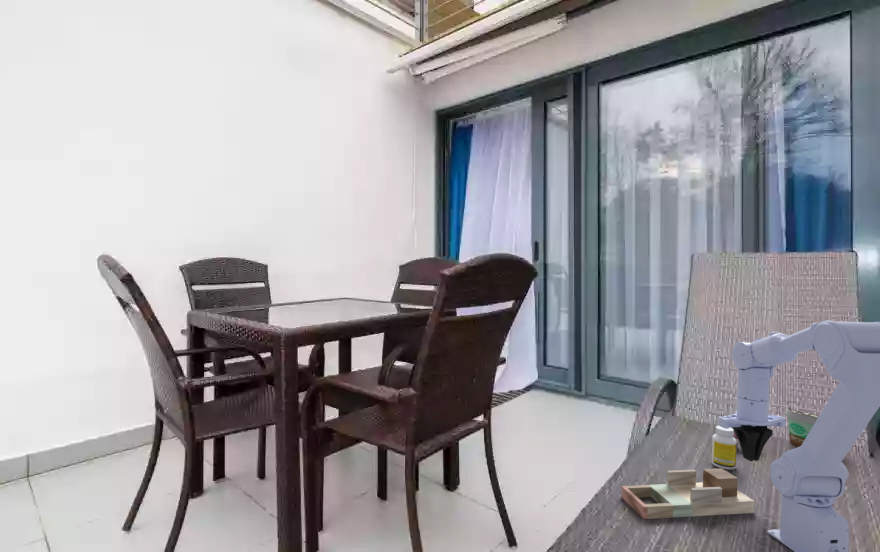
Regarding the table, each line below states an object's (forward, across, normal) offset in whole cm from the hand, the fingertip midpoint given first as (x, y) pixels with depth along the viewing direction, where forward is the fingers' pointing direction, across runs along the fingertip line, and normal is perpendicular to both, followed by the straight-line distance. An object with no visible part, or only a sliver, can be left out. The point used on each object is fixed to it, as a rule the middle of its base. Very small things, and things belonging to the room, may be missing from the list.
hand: (750, 459), depth 98 cm
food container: (+10, -41, -26) cm, 49 cm away
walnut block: (+7, +7, 0) cm, 10 cm away
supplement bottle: (+10, -8, -17) cm, 21 cm away
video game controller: (+10, -22, -28) cm, 37 cm away
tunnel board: (+9, +15, 0) cm, 18 cm away
